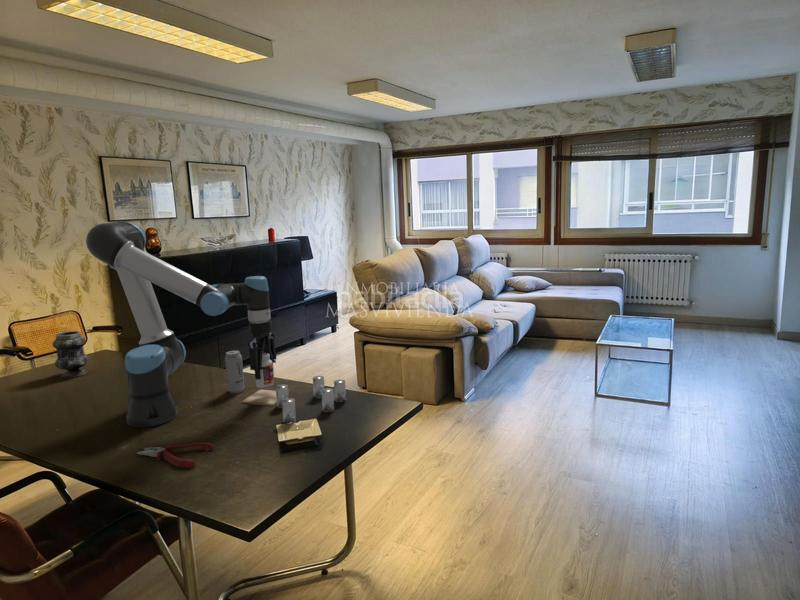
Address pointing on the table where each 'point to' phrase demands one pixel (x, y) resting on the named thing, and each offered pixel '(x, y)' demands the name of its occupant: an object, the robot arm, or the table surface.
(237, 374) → the energy drink can
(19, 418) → the table surface
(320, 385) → the cylinder
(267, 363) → the pill bottle
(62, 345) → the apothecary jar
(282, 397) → the cylinder
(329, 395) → the cylinder
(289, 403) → the spacer near
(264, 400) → the coaster
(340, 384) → the grey cylinder
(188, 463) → the pliers
